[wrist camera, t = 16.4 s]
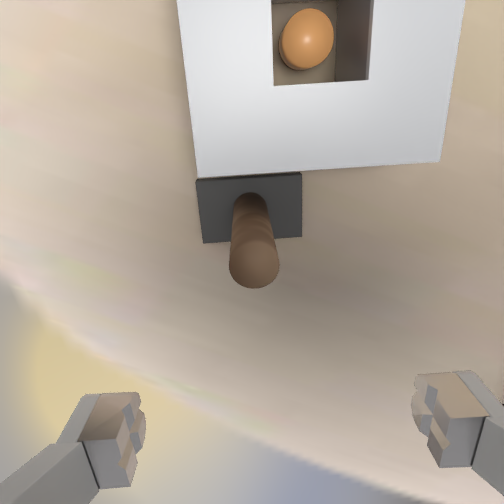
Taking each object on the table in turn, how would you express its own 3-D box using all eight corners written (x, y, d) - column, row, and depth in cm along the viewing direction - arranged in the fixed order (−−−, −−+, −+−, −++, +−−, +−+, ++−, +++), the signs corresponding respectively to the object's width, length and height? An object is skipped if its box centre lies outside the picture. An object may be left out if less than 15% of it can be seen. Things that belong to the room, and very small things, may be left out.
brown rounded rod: (266, 191, 27) (278, 241, 17) (267, 223, 28) (280, 286, 18) (232, 193, 27) (226, 245, 17) (234, 225, 28) (231, 290, 18)
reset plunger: (324, 16, 22) (334, 6, 20) (323, 68, 24) (332, 65, 21) (278, 19, 22) (282, 9, 20) (279, 71, 23) (283, 68, 21)
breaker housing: (415, -96, 21) (494, -182, 14) (391, 146, 27) (440, 161, 20) (181, -82, 21) (156, -163, 14) (207, 158, 26) (198, 177, 20)
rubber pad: (299, 172, 27) (302, 174, 26) (299, 232, 29) (301, 236, 28) (197, 178, 27) (195, 181, 26) (204, 238, 29) (203, 243, 28)
